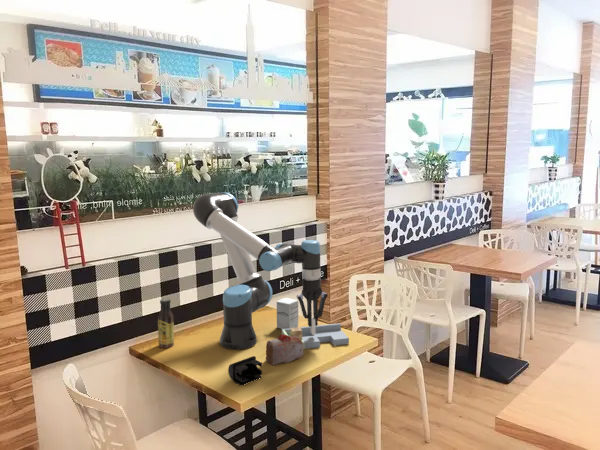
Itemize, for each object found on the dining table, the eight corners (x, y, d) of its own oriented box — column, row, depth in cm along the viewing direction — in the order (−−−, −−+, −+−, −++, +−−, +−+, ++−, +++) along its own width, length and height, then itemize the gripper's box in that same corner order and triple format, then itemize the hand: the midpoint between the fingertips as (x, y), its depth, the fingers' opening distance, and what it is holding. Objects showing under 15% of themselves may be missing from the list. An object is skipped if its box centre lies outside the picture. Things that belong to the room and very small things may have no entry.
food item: (294, 352, 200) (294, 328, 199) (305, 359, 194) (305, 335, 192) (264, 360, 193) (263, 335, 192) (274, 367, 187) (273, 342, 185)
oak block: (292, 340, 205) (292, 331, 205) (290, 337, 209) (290, 328, 208) (302, 339, 206) (302, 330, 206) (299, 336, 210) (299, 327, 209)
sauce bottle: (155, 345, 207) (153, 299, 204) (168, 341, 212) (166, 296, 209) (164, 350, 203) (162, 302, 200) (177, 345, 208) (175, 299, 204)
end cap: (251, 371, 184) (250, 353, 183) (263, 377, 179) (262, 359, 178) (228, 379, 177) (227, 361, 176) (240, 386, 172) (239, 368, 171)
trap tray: (340, 334, 219) (340, 323, 218) (348, 343, 208) (349, 332, 207) (281, 340, 212) (281, 329, 211) (287, 350, 202) (287, 338, 201)
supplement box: (276, 328, 227) (275, 301, 224) (285, 323, 233) (285, 296, 231) (289, 331, 222) (289, 304, 220) (299, 326, 228) (298, 299, 226)
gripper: (298, 281, 200) (299, 338, 203) (329, 279, 203) (330, 334, 206) (294, 277, 207) (295, 332, 211) (324, 274, 210) (325, 328, 214)
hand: (313, 333), depth 209 cm, fingers closed
